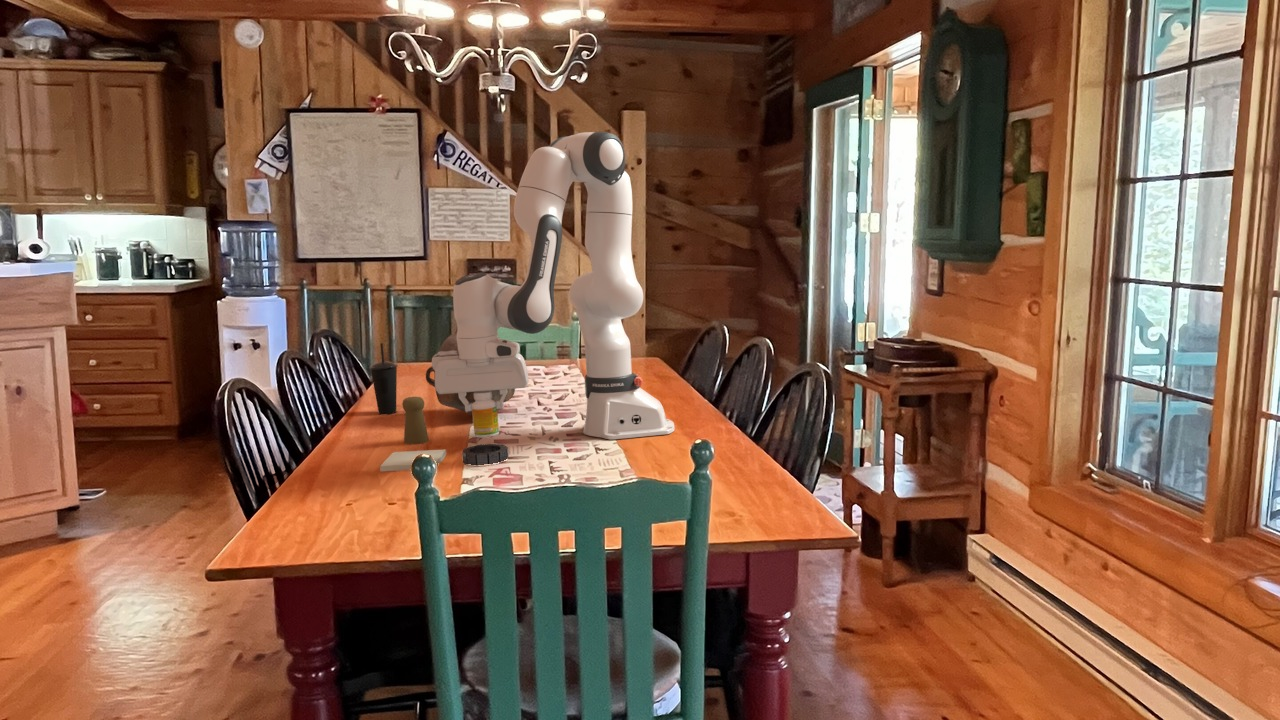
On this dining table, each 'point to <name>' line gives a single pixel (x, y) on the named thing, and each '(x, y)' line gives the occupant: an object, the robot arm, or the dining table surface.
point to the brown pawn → (414, 421)
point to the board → (409, 459)
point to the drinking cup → (385, 384)
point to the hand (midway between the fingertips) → (484, 410)
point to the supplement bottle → (484, 415)
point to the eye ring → (485, 454)
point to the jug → (453, 398)
